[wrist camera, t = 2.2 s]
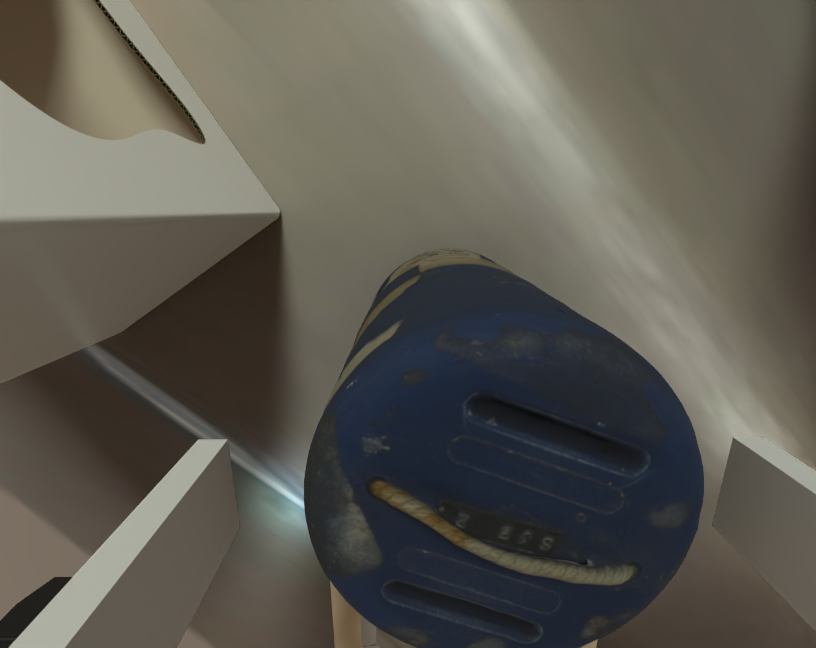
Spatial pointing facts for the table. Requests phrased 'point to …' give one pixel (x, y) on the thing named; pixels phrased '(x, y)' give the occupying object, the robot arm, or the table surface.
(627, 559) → the canister
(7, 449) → the table surface
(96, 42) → the gable box
